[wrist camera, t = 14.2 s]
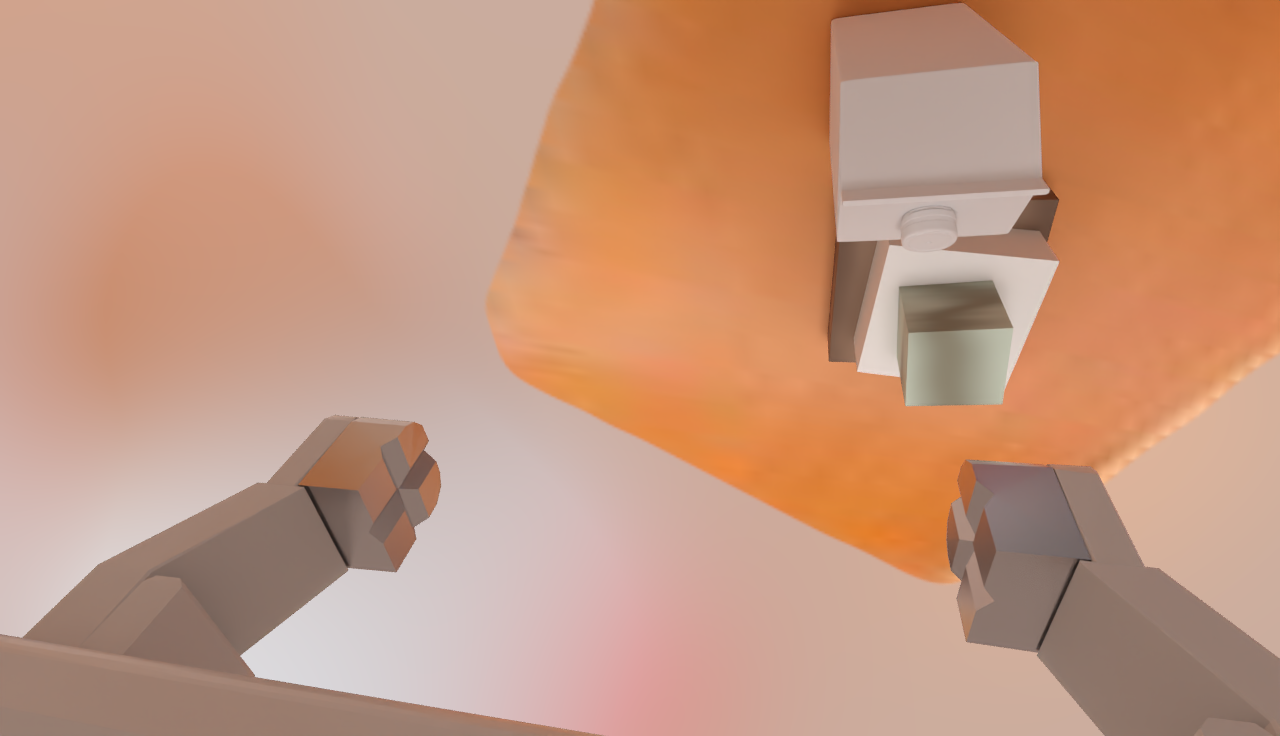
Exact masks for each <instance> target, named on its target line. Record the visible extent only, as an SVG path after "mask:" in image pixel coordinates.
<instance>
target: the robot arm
mask: <svg viewBox="0 0 1280 736" xmlns="http://www.w3.org/2000/svg"><path fill="white" fill-rule="evenodd" d="M428 441H429V440H428V438H427V435H426V433H425V431H424V428H423V426H422V425H420V424H418V423H415V422H409V421H398V420H387V419H377V418H366V417H360V418H357V417H349V416H339V415H334V416H331V417H328V418H326V419H324V420H323V421H322V422H321V424H320V425H319V426H318V427H317V428H316V429H315V430H314V431H313V432H312V433H311V435H310V436H309V437H308V438H307V439H306V440H305V441H304V442H303V444H302V445H301V446H300V447H299V448H298V449H297V450H296V451H295V452H294V453H293V454H292V456H291V457H290V458H289V459H288V460H287V461H286V462H285V463H284V464H283V466H282V467H281V468H280V469H279V470H278V471H277V472H276V473H275V474H274V475H273V477H272V478H271V479H270V480H269V481H268V482H267V483H256V484H254V485H252V486H251V487H248V488H247V489H245V490H243V491H241V492H239V493H237V494H235V495H233V496H231V497H229V498H227V499H226V500H223V501H221V502H219V503H217V504H215V505H213V506H212V507H210V508H208V509H206V510H204V511H202V512H200V513H198V514H196V515H194V516H192V517H190V518H188V519H187V520H184V521H182V522H180V523H179V524H176V525H174V526H173V527H171V528H169V529H167V530H165V531H163V532H161V533H159V534H157V535H155V536H153V537H151V538H149V539H147V540H145V541H143V542H141V543H139V544H137V545H135V546H134V547H132V548H130V549H128V550H126V551H124V552H122V553H120V554H118V555H116V556H114V557H112V558H110V559H108V560H107V561H104V562H103V563H100V564H99V565H97V566H96V567H95V568H94V569H93V570H92V571H91V572H90V573H89V574H88V575H87V576H86V577H85V578H84V579H83V580H82V581H81V582H80V583H79V584H78V585H77V586H76V587H75V588H74V589H72V590H71V591H70V592H69V593H68V594H67V595H66V596H65V597H64V598H63V599H62V600H61V601H60V602H59V603H58V604H57V605H56V606H55V607H54V608H53V609H52V610H51V611H50V612H49V613H48V614H46V615H45V616H44V618H42V619H41V620H40V621H39V622H38V623H37V624H36V625H35V626H34V627H33V628H32V629H31V630H30V631H29V632H28V633H27V634H26V635H25V636H24V637H23V638H19V637H13V636H7V635H2V634H0V736H603V735H597V734H591V733H585V732H579V731H573V730H567V729H561V728H555V727H549V726H543V725H537V724H531V723H525V722H519V721H513V720H507V719H501V718H495V717H489V716H483V715H477V714H471V713H465V712H459V711H453V710H447V709H441V708H435V707H430V706H424V705H417V704H412V703H406V702H400V701H393V700H387V699H381V698H376V697H369V696H364V695H358V694H352V693H346V692H339V691H334V690H328V689H322V688H316V687H310V686H304V685H298V684H292V683H286V682H280V681H275V680H268V679H262V678H256V677H255V675H254V674H253V672H252V671H251V670H250V668H249V667H248V666H247V664H246V663H245V662H244V660H243V659H242V658H241V657H240V655H241V654H243V653H244V652H245V651H246V650H248V649H249V648H250V647H251V646H253V645H254V644H255V643H257V642H258V641H259V640H260V639H262V638H263V637H264V636H265V635H267V634H268V633H269V632H271V631H272V630H273V629H275V628H276V627H277V626H278V625H279V624H281V623H282V622H283V621H285V620H286V619H287V618H289V617H290V616H291V615H292V614H294V613H295V612H296V611H297V610H299V609H300V608H301V607H303V606H304V605H305V604H306V603H308V602H309V601H310V600H311V599H313V598H314V597H315V596H317V595H318V594H319V593H320V592H321V591H323V590H324V589H325V588H327V587H328V586H329V585H330V584H332V583H333V582H334V581H336V580H337V579H338V578H339V577H341V576H342V575H343V574H345V573H346V572H347V571H348V568H356V569H367V570H378V571H389V572H397V570H398V569H399V567H400V565H401V564H402V562H403V560H404V559H405V557H406V555H407V554H408V552H409V550H410V549H411V547H412V545H413V544H414V542H415V540H416V535H415V529H414V527H415V526H417V525H418V524H420V523H421V522H423V521H424V520H426V519H427V518H429V517H430V515H431V513H432V511H433V510H434V508H435V506H436V504H437V501H438V496H439V492H440V488H441V480H440V471H439V468H438V465H437V462H436V461H435V460H434V459H433V458H432V457H431V456H430V455H428V454H427V453H426V452H425V451H424V449H425V447H426V445H427V443H428ZM957 481H958V485H959V490H960V494H961V497H960V498H958V499H957V500H956V501H954V502H953V503H951V507H950V512H949V517H948V523H947V550H948V558H949V563H950V568H951V571H952V572H953V573H954V574H955V575H956V576H957V577H958V578H959V579H960V580H961V585H960V589H959V592H958V596H957V602H958V606H959V611H960V616H961V620H962V625H963V630H964V634H965V639H966V642H970V643H977V644H984V645H991V646H998V647H1004V648H1011V649H1018V650H1024V651H1031V652H1038V654H1037V656H1038V657H1039V659H1040V660H1041V661H1042V662H1043V663H1044V664H1045V666H1046V667H1047V668H1048V669H1049V670H1050V672H1051V673H1052V674H1053V675H1054V676H1055V677H1056V679H1057V680H1058V681H1059V682H1060V683H1061V685H1062V686H1063V687H1064V688H1065V689H1066V691H1067V692H1068V693H1069V694H1070V695H1071V696H1072V698H1073V699H1074V700H1075V701H1076V702H1077V704H1079V706H1080V707H1081V708H1082V709H1083V711H1084V712H1085V713H1086V714H1087V715H1088V716H1089V718H1090V719H1091V720H1092V721H1093V722H1094V724H1095V725H1096V726H1097V727H1098V728H1099V730H1100V731H1101V732H1102V733H1103V734H1104V735H1105V736H1280V658H1278V657H1277V656H1275V655H1274V654H1273V653H1271V652H1270V651H1269V650H1267V649H1266V648H1265V647H1263V646H1262V645H1261V644H1259V643H1258V642H1257V641H1255V640H1254V639H1252V638H1251V637H1250V636H1249V635H1247V634H1246V633H1245V632H1243V631H1242V630H1241V629H1239V628H1238V627H1237V626H1235V625H1234V624H1233V623H1231V622H1230V621H1228V620H1227V619H1226V618H1225V617H1223V616H1222V615H1221V614H1219V613H1218V612H1216V611H1215V610H1214V609H1212V608H1211V607H1210V606H1208V605H1207V604H1206V603H1204V602H1203V601H1202V600H1200V599H1199V598H1198V597H1196V596H1195V595H1194V594H1192V593H1191V592H1190V591H1188V590H1187V589H1186V588H1184V587H1183V586H1181V585H1180V584H1179V583H1177V582H1176V581H1175V580H1173V579H1172V578H1171V577H1169V576H1168V575H1167V574H1165V573H1164V572H1163V571H1161V570H1160V569H1159V568H1150V567H1145V566H1144V564H1143V562H1142V560H1141V558H1140V556H1139V555H1138V552H1137V550H1136V549H1135V546H1134V545H1133V543H1132V540H1131V538H1130V537H1129V534H1128V533H1127V530H1126V528H1125V526H1124V525H1123V523H1122V520H1121V519H1120V516H1119V515H1118V513H1117V510H1116V508H1115V507H1114V505H1113V503H1112V501H1111V499H1110V496H1109V494H1108V493H1107V490H1106V488H1105V486H1104V484H1103V483H1102V481H1101V479H1100V477H1099V475H1098V473H1097V471H1095V470H1094V469H1093V468H1091V467H1090V466H1072V465H1053V464H1047V465H1043V464H1028V463H1012V462H995V461H979V460H965V461H964V463H963V465H962V466H961V469H960V473H959V476H958V480H957Z"/></svg>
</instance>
